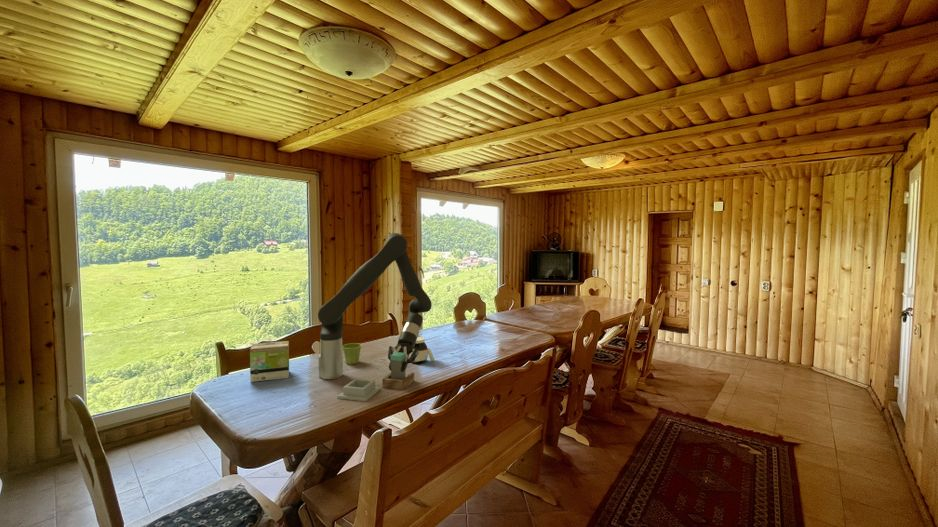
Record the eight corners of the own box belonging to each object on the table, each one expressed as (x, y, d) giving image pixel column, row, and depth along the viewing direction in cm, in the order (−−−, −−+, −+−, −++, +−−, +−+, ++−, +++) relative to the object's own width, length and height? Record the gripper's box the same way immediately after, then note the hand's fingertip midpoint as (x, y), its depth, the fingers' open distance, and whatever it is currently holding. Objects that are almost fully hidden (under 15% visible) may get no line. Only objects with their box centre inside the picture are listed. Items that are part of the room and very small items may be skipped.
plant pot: (358, 365, 183) (358, 348, 183) (339, 365, 183) (339, 348, 183) (364, 359, 193) (364, 343, 192) (346, 359, 193) (345, 343, 192)
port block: (337, 398, 145) (337, 388, 145) (353, 386, 157) (353, 377, 157) (365, 401, 143) (365, 391, 142) (380, 389, 154) (380, 379, 154)
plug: (390, 381, 158) (390, 355, 157) (395, 377, 163) (395, 352, 162) (401, 382, 157) (401, 356, 156) (405, 378, 162) (405, 352, 161)
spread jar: (405, 361, 191) (405, 338, 190) (424, 356, 198) (423, 334, 198) (419, 366, 182) (419, 343, 181) (438, 361, 190) (438, 338, 189)
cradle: (382, 387, 156) (382, 379, 156) (392, 378, 166) (392, 371, 166) (405, 389, 154) (405, 381, 154) (414, 380, 164) (414, 372, 163)
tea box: (250, 383, 161) (249, 349, 160) (252, 375, 170) (251, 343, 169) (289, 378, 167) (288, 345, 166) (289, 371, 176) (288, 339, 175)
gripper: (392, 329, 168) (377, 364, 157) (421, 331, 164) (408, 368, 153) (397, 338, 173) (384, 372, 163) (426, 340, 169) (414, 376, 158)
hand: (396, 370), depth 158 cm, fingers closed on plug, 4 cm apart
